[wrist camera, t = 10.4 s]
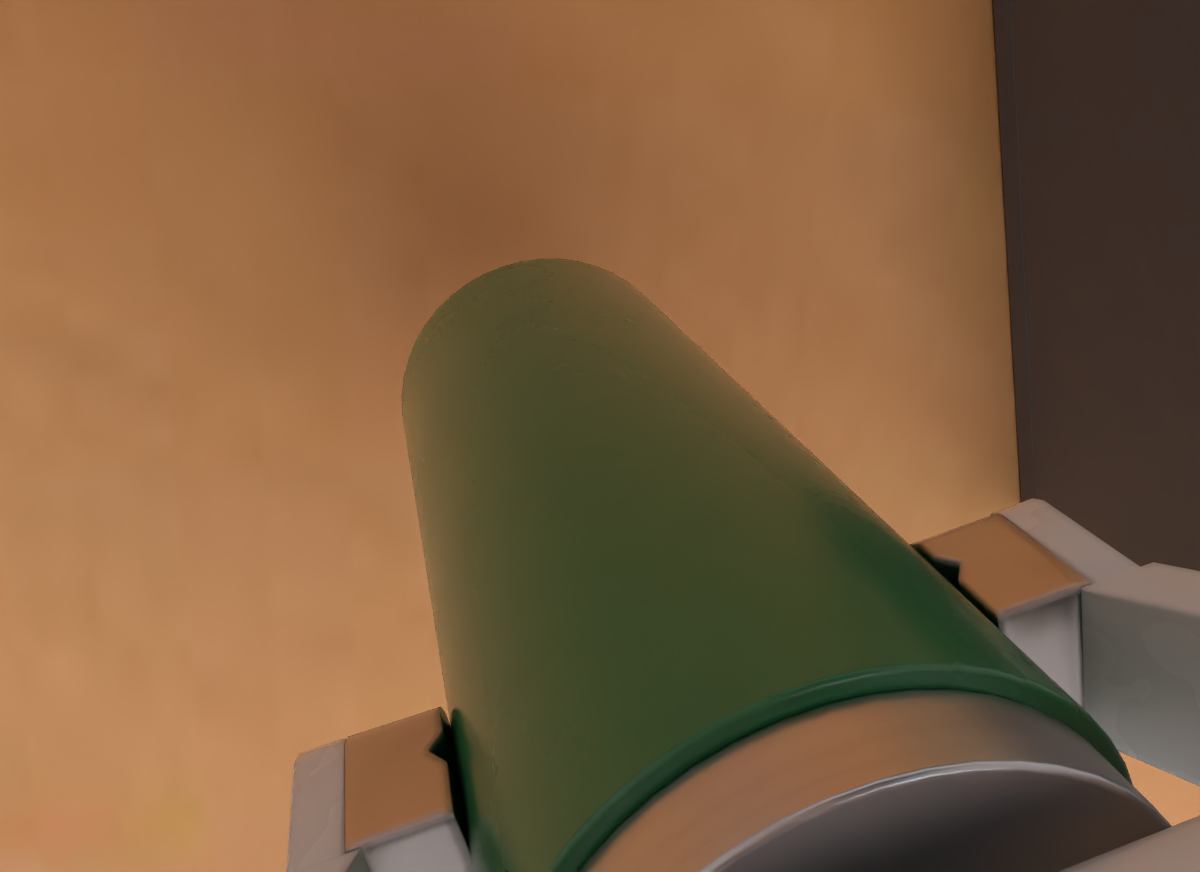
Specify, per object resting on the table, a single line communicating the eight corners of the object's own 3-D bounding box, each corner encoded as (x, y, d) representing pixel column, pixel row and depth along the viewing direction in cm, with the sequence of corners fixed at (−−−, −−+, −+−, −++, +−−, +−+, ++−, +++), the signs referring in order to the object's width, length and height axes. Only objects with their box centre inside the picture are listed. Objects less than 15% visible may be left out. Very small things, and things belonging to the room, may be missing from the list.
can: (338, 393, 18) (338, 1144, 6) (564, 195, 17) (1034, 586, 6) (528, 572, 20) (796, 1369, 8) (731, 402, 20) (1313, 985, 8)
